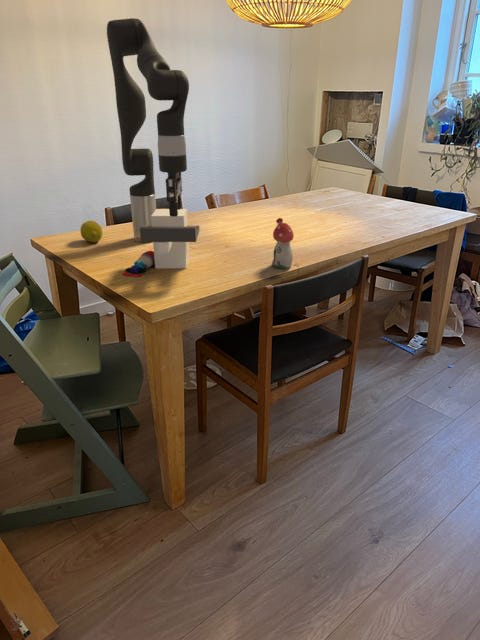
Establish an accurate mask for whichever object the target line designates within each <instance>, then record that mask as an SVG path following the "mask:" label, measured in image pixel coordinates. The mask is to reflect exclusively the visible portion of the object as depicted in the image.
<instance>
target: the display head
mask: <svg viewBox="0 0 480 640" xmlns="http://www.w3.org/2000/svg"><path fill="white" fill-rule="evenodd" d="M151 222H152V227H196V226H197V225H188V224H189V222H188V208H181V209H180V210H178V215H177V216H170V212H169V208H156V210H155V211H154V213H153V214H152V215H151ZM144 227H148V226H144ZM135 243H142V242H141V236H140V232H139V233H138V235H137V236H136V241H135ZM189 243H190V242H152V244H153V252H154V258H155V264H154V269H187V267H188V264H189V260H190V248H189V247H190V246H189V245H190V244H189Z"/></svg>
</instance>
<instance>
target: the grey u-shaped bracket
mask: <svg viewBox="0 0 480 640" xmlns="http://www.w3.org/2000/svg"><path fill="white" fill-rule="evenodd" d="M195 226H196V227H152V226H148V227H140V236H141V242H140V243H153V242H189V243H197V240H198V237H199V233H200V225H195Z"/></svg>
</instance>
